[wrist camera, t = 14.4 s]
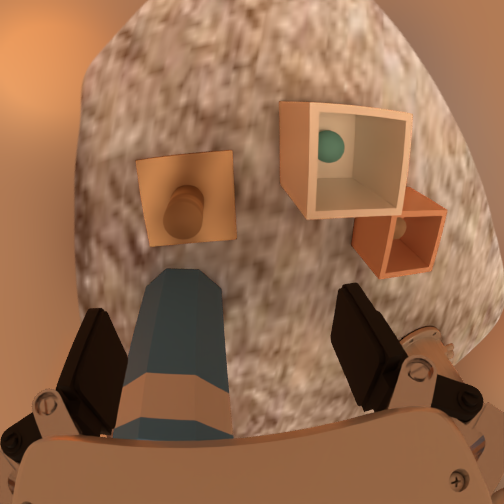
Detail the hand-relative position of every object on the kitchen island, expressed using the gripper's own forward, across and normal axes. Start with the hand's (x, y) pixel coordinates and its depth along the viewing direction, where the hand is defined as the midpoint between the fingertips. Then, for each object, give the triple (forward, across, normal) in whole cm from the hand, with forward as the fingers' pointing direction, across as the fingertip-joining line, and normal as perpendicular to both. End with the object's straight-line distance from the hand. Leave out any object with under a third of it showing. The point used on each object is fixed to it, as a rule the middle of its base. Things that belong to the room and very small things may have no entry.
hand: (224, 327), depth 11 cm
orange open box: (+19, -18, +4) cm, 26 cm away
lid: (+19, +3, +1) cm, 19 cm away
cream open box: (+18, -10, -4) cm, 21 cm away
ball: (+18, -10, -4) cm, 21 cm away
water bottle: (+19, +5, +13) cm, 23 cm away
